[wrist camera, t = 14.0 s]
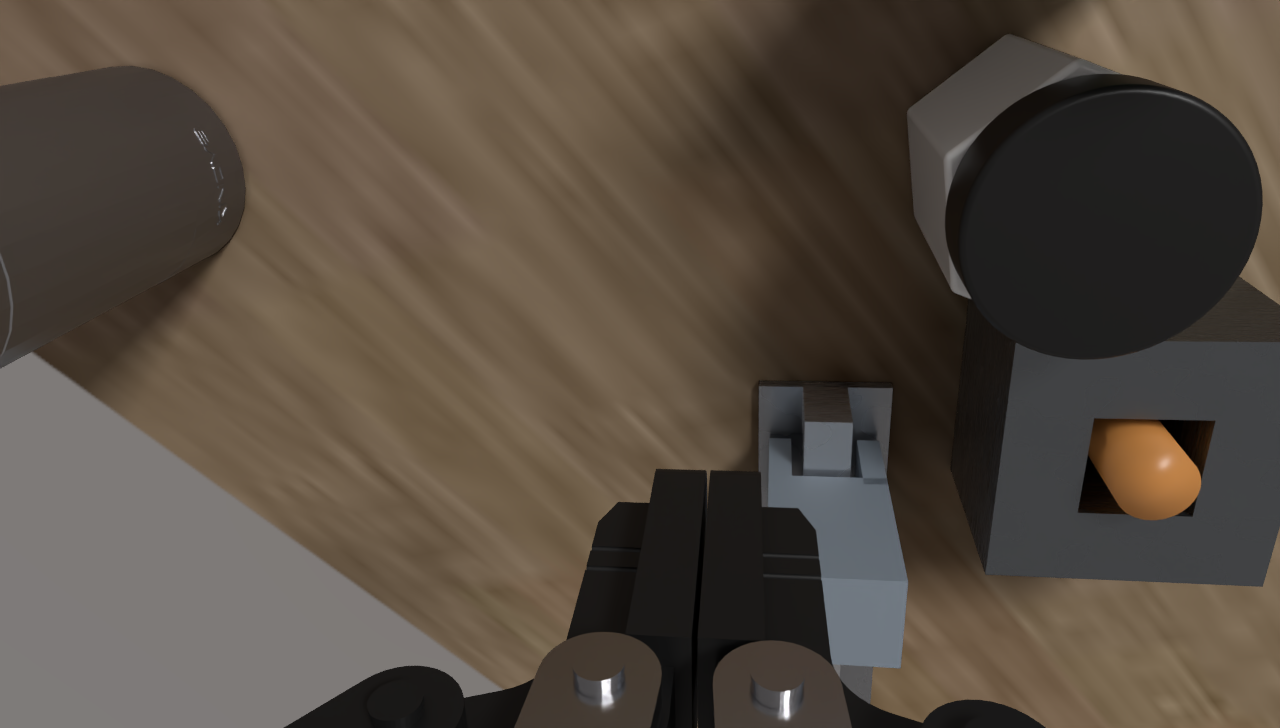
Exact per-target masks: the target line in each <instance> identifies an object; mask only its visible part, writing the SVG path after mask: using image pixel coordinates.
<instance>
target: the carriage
mask: <svg viewBox="0 0 1280 728" xmlns="http://www.w3.org/2000/svg"><path fill="white" fill-rule="evenodd" d="M768 507H781V508H799V510H800V511H801V512H802V513H803V515H804V516H805V517H806V518H807V520H808V521H809V522H810V523H811V524H812V526H813V527H814V528H815V529H816V534H817V543H818V551H819V560H820V568H821V580H822V585H823V594H824V602H825V611H826V619H827V628H828V636H829V645H830V653H831V659H832V664H837V665H854V666H871V667H888V668H901V656H902V645H903V634H904V622H905V611H906V600H907V588H908V579H907V574H906V569H905V564H904V559H903V555H902V550H901V545H900V540H899V535H898V530H897V525H896V521H895V516H894V511H893V506H892V501H891V496H890V491H889V486H888V482H887V477H886V472H885V467H884V462H883V457H882V452H881V448H880V443H879V441H869V440H857V446H856V465H855V478H853V477H818V476H792V459H791V439H784V438H769V482H768Z"/></svg>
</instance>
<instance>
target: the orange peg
mask: <svg viewBox="0 0 1280 728" xmlns="http://www.w3.org/2000/svg"><path fill="white" fill-rule="evenodd" d="M1088 456H1089V458H1090V459H1091V461H1092V463H1093V464H1094V466H1095V468H1096V469H1097V471H1098V472H1099V474H1100V476H1101V477H1102V479H1103V481H1104V482H1105V484H1106V485H1107V487H1108V489H1109V490H1110V492H1111V494H1112V495H1113V497H1114V498H1115V500H1116V502H1117V503H1118V505H1119V506H1120V508H1121V509H1122V510H1123V511H1125V512H1126V513H1127V514H1129V515H1131V516H1133V517H1135V518H1138V519H1143V520H1161V519H1166V518H1169V517H1172V516H1175V515H1177V514H1179V513H1181V512H1182V511H1184V510H1185V509H1187V508H1188V507H1189V506H1190V505H1191V504H1192V503H1193V502H1194V500H1195V499H1196V497H1197V495H1198V493H1199V491H1200V488H1201V476H1200V473H1199V470H1198V468H1197V467H1196V465H1195V464H1194V463H1193V462H1192V461H1191V459H1190V458H1189V457H1188V456H1187V454H1186V453H1185V452H1184V451H1183V449H1182V448H1181V447H1180V446H1179V445H1178V443H1177V442H1176V441H1175V440H1174V438H1173V437H1172V436H1171V435H1170V433H1169V432H1168V431H1167V430H1166V428H1165V427H1164V426H1163V425H1162V424H1161V422H1160V421H1159V420H1154V419H1101V418H1094V422H1093V428H1092V434H1091V439H1090V445H1089V451H1088Z"/></svg>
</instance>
